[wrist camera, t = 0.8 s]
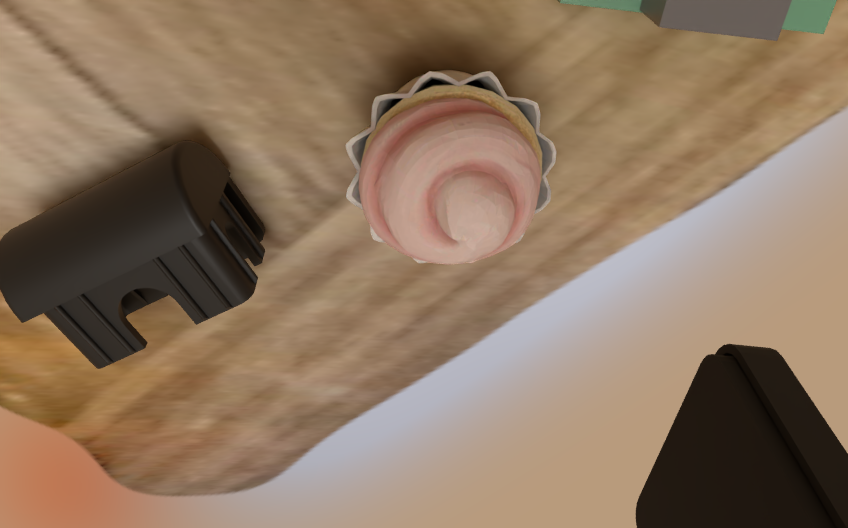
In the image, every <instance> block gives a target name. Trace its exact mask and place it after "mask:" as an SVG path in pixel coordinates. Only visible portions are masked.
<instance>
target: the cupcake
mask: <svg viewBox="0 0 848 528" xmlns="http://www.w3.org/2000/svg"><path fill="white" fill-rule="evenodd" d="M539 127H540V111H539V107H538V103H536V102H534V101H531V100H529V99H527V98H516V97H508V96H507V95H506V93H505V91H504V89H503V87H502V86H501V84H500V82H499V80H498V79H497V77H496V76H495V75H494V74H493V73H492V72H491V71H487V72H481V73H478V74H476V75H471V74H469V73H465V72H461V71H455V70H442V71H435V72H431V71H429V72H428V73H426V74H424V75H421V76H418V77H415V78H414V79H412V80H411V81H409V82H408V83H406V84H405V85H404V86H402V87H401V88H400V89H399V90H398V91H397V92H395V93H389V94H383V95H380V96H377V97H375V100H374V102H373V105H372V116H371V125H370V126H369V127H367V128H366V129H364V130H363V131H361V132H360V133H359V134H357V135H356V136H354V137H353V138H352V139H350V141H349V142H348V143H347V144H346V149H347V153H348V155H349V157H350V159H351V161H352V163H353V165H354V166H355V168H356V170H357V173H356V175H355V177H354V179H353V180H352V182H351V184H350V186H349V188H348V190H347V194H346V198H347V199H348V200H349V201H350V202H351V203H352V204H354V205H356V206H357V207H359V208H361V209H362V210H363V211H364V214H365V217H366V219H367V221H368V222H369V224H370V227H371V235H372V237H373V240H376V241H379V242H385V243H387V244H388V245H389V246H391V247H392V248H394V249H396V250H397V251H399V252H401V253H402V254H405V255H407V256H410V257H412V258H413V259H414V260H415V261H417V262H418V263H427V262H430V263H439V264H462V263H473V262H474V261H476V260H480V259H483V258H487V257H489V256H492V255H495V254H497V253H499V252H501V251H504V250H505V249H507V248H508V247H510V246H512V245H513V244H514V243H517V242H519V241H520V240H521V238H522V237H523V235H524V233H525V231H526V230H527V228H528V226H529V224H530V223H531V221H532V219H533V216H534V214H535V213H537V212H539V211H541V210H543V208H544V207H545V206H546V205H547V204H548V203H549V202H550V198H551V189H550V186H549V184H548V181H547V179H546V175H547V174H548V172H549V171H550V169H551V168H552V167H553V165H554V164H555V161H556V149H555V147H554V144H553V142H552V141H551V140H550V139H548V138H547V137H545V136H544V135H543V134H541V133H540V132H539Z"/></svg>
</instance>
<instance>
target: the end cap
mask: <svg viewBox="0 0 848 528" xmlns="http://www.w3.org/2000/svg"><path fill="white" fill-rule="evenodd" d="M229 176H230V172H229V171H228V169H227V168H226V167H225V166H224V164H223V163H222V162H221V161H220V160H219V159H218V158H217V157H216V156H215V155H214V154H213V153H212V152H211V151H210V150H209V149H207V148H206V147H204V146H202V145H201V144H198V143H196V142H193V141H181V142H178V143H176V144H174V145H172V146H170V147H168V148H166V149H165V150H163V151H161V152H159V153H157V154H155V155H153V156H151V157H149V158H147V159H145V160H143V161H142V162H140V163H138V164H136V165H134V166H132V167H130V168H128V169H126V170H124V171H122V172H121V173H119V174H117V175H115V176H113V177H111V178H109V179H107V180H105V181H103V182H101V183H99V184H98V185H96V186H94V187H92V188H90V189H88V190H86V191H84V192H82V193H80V194H78V195H76V196H75V197H73V198H71V199H69V200H67V201H65V202H63V203H61V204H59V205H57V206H55V207H53V208H52V209H50V210H48V211H46V212H44V213H42V214H40V215H38V216H36V217H34V218H32V219H30V220H29V221H27V222H25V223H23V224H21V225H19V226H17V227H15V228H13V229H11V230H10V231H9V232H8V233H6V234H5V235H4V236H3V238H2V239H1V241H0V290H1V292H2V294H3V296H4V298H5V301H6V302H7V304H8V305H9V307H10V308H11V310H12V311H13V313H14V314H15V315H16V316H17V317H18V319H19V320H20V321H21V322H22V323H23V322H26V321H28V320H30V319H32V318H34V317H36V316H38V315H40V314H42V313H44V314H45V315H46V316H47V317H48V318H49V319H50V320H51V321H52V322H53V323H54V325H55V326H56V327H57V328H58V329H59V330H60V331H61V332H62V333H63V334H64V335H65V336H66V337H67V338H68V339H69V340H70V341H71V342H72V343H73V344H74V345H75V346H76V347H77V348H78V349H79V350H80V351H81V352H82V353H83V355H84V356H85V357H86V358H87V359H88V360H89V361H90V362H91V363H92V364H93V365H94V366H95V367H96V368H98V369H100V368H103V367H105V366H107V365H110V364H112V363H114V362H116V361H118V360H121V359H123V358H125V357H127V356H129V355H131V354H134V353H136V352H138V351H140V350H142V349H144V348H145V347H146V345H147V341H146V340H145V339H144V338H143V337H142V336H141V335H140V334H139V333H138V331H137V330H136V329H135V328H134V327H133V326H132V325H131V324H130V322H129V321H128V320H127V319H126V316H127V315H128V314H130V313H132V312H134V311H136V310H138V309H140V308H142V307H144V306H146V305H149V304H151V303H153V302H155V301H157V300H159V299H161V298H163V297H165V296H168V294H169V295H170V296H171V297H173V298H174V299H175V300H176V301H177V302H178V303H179V305H180V306H181V307H182V308H183V309H184V311H185V312H186V313H187V314H188V315H189V317H190V318H191V319H192V320H193V321H194V323H195V324H196V325H197V324H199V323H201V322H203V321H205V320H208V319H210V318H212V317H214V316H216V315H218V314H221V313H223V312H225V311H227V310H229V309H231V308H234V307H236V306H238V305H240V304H242V303H244V302H245V301H247V300H248V299H249V298H250V297H251V296H252V295H253V293H254V291H255V287H256V283H257V279H258V277H257V275H256V274H255V273H254V271H253V270H252V269H251V267H250V266H249V265H248V263H247V262H246V261H245V259H246V258H249V259H250V261H251V262H252V263H253V265H254V266H257V265H259V264H261V263H262V260H263V256H264V253H265V249H264V248H263V246H262V245H261V243H260V241H261V240H263V236H264V233H265V228H264V225H263V223H262V222H261V220H260V219H259V218H258V216H257V215H256V213H255V212H254V211H253V209H252V208H251V206H250V205H249V204H248V202H247V201H246V199H245V198H244V197H243V195H242V194H241V192H240V191H239V189H238V188H237V187H236V185H235V184H234V182H233V181H232V180H231V178H230V177H229Z"/></svg>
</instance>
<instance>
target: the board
mask: <svg viewBox="0 0 848 528" xmlns="http://www.w3.org/2000/svg"><path fill="white" fill-rule="evenodd" d="M558 1H559V2H560V3H565V4H574V5H582V6H590V7H599V8H607V9H616V10H624V11H633V12H641V13H644V14H645V15H646V16H647V17H648V18H649V19H650V20H652V21H653V22H654V23H655V24H656V25H657V26H658V27H662V28H671V29H680V30H688V31H697V32H705V33H714V34H723V35H731V36H740V37H748V38H757V39H766V40H774V41H777V40H778V37H779V35H780V32H781V29H785V30H794V31H802V32H811V33H819V34H824V31H825V29H826V26H827V24H828V21H829V19H830V16H831V14H832V11H833V9H834V6H835V4H836V1H837V0H558Z"/></svg>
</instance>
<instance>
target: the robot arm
mask: <svg viewBox="0 0 848 528" xmlns="http://www.w3.org/2000/svg"><path fill="white" fill-rule="evenodd" d="M636 525H637V528H848V453H847V452H846V450H845V449H844V448H843V446H842V445H841V443H840V442H839V440H838V439H837V437H836V436H835V434H834V433H833V431H832V430H831V428H830V427H829V425H828V424H827V422H826V421H825V419H824V418H823V417H822V415H821V414H820V412H819V411H818V409H817V408H816V406H815V405H814V403H813V402H812V400H811V399H810V397H809V396H808V394H807V393H806V391H805V390H804V388H803V387H802V385H801V384H800V382H799V381H798V379H797V378H796V376H795V375H794V373H793V372H792V371H791V369H790V368H789V366H788V364H787V363H786V361H785V360H784V358H783V357H782V356H781V355H780V354H779V353H778V352H777V351H776V350H774V349H771V348H763V347H754V346H753V347H752V346H744V345H733V344H727V345H723V346H722V347H721V348H719V349H718V351H717V352H716V354H715V355H714V354H711V355H707V356H706V357H705V358H704V359H703V361H702V363H701V364H700V366H699V369H698V371H697V373H696V375H695V377H694V379H693V381H692V384H691V386H690V388H689V390H688V393H687V394H686V397H685V399H684V401H683V403H682V406H681V407H680V410H679V412H678V414H677V416H676V418H675V420H674V423H673V425H672V427H671V429H670V431H669V433H668V436H667V438H666V440H665V442H664V444H663V447H662V449H661V451H660V453H659V455H658V457H657V459H656V462H655V464H654V466H653V468H652V470H651V473H650V475H649V477H648V479H647V481H646V483H645V485H644V488H643V490H642V492H641V494H640V496H639V499H638V502H637V507H636Z"/></svg>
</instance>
